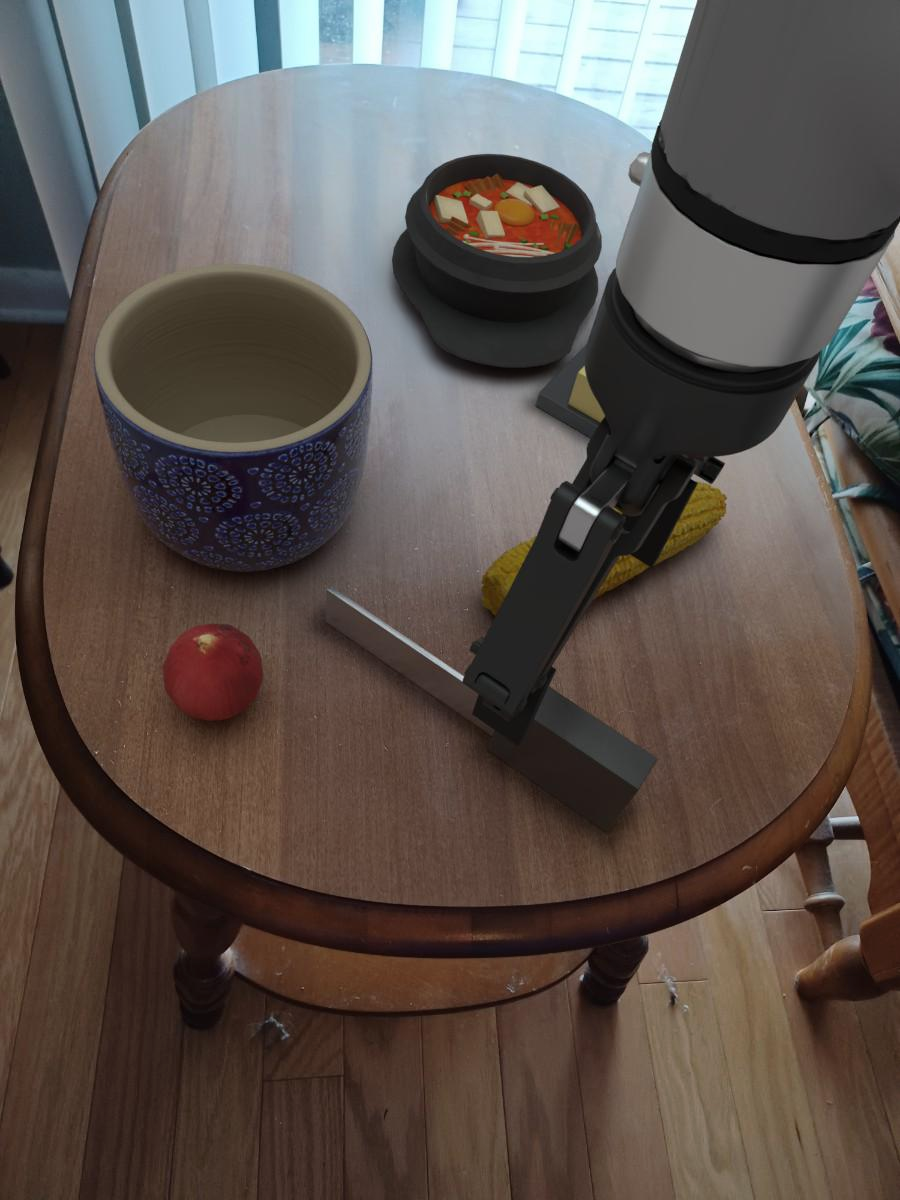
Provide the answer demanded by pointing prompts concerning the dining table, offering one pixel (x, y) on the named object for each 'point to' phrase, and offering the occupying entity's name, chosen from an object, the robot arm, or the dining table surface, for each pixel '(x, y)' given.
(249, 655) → the onion
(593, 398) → the butter block
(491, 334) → the casserole
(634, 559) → the food
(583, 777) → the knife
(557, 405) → the board
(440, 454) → the dining table surface
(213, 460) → the planter
